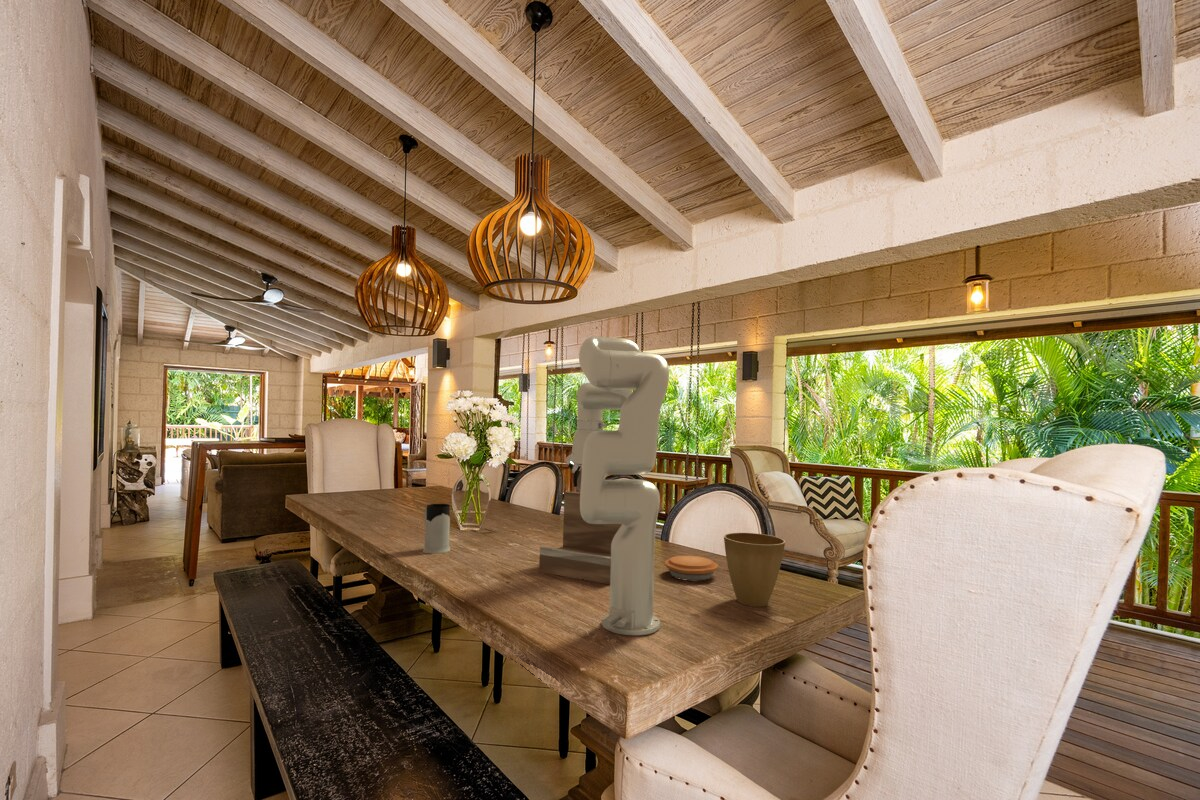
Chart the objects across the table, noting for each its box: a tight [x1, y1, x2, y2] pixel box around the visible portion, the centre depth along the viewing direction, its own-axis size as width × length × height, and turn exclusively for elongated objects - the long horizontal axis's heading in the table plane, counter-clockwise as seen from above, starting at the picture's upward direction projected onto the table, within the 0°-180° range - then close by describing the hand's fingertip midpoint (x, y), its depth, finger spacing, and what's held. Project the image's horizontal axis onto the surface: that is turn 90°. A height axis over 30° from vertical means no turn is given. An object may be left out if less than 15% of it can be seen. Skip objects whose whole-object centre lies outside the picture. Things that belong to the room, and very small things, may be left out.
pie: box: [664, 555, 719, 581], centre depth 164 cm, size 15×16×5 cm
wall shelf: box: [538, 490, 622, 585], centre depth 165 cm, size 14×24×22 cm, turn 61°
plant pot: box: [723, 532, 786, 607], centre depth 141 cm, size 15×15×16 cm
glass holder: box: [422, 503, 451, 555], centre depth 190 cm, size 9×14×15 cm, turn 41°
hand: (588, 487), depth 165 cm, fingers closed on vase, 6 cm apart
